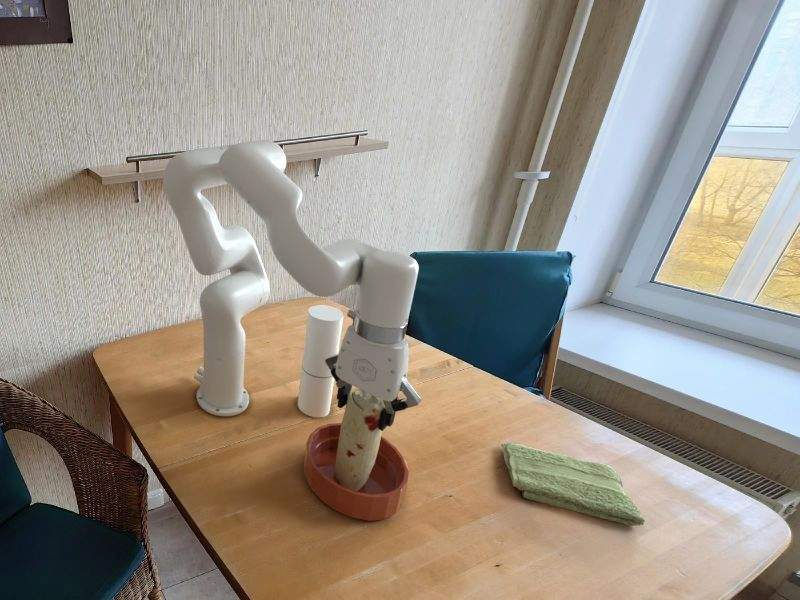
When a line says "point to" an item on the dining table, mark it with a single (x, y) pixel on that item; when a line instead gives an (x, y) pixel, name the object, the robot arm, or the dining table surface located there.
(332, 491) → the bowl
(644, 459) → the dining table surface
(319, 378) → the cylindrical container
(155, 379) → the dining table surface
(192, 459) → the dining table surface
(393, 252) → the robot arm
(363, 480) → the food model
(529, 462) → the washcloth
